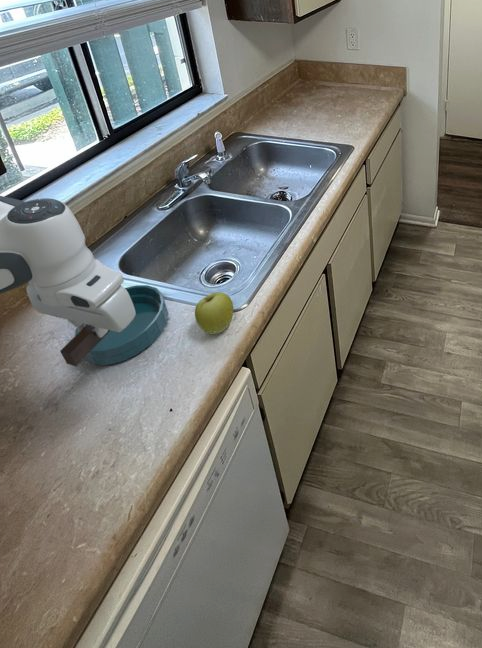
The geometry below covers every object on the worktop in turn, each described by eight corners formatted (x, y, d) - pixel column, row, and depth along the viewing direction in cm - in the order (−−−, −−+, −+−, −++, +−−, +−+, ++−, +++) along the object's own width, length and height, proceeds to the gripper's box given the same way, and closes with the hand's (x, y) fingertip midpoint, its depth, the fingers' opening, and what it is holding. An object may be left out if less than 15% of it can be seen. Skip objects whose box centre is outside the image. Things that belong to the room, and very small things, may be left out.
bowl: (71, 377, 91) (62, 361, 89) (96, 310, 106) (89, 296, 104) (162, 352, 96) (156, 337, 94) (173, 292, 110) (168, 277, 108)
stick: (76, 366, 79) (69, 353, 78) (66, 363, 80) (59, 351, 78) (124, 315, 89) (119, 303, 87) (116, 313, 89) (110, 301, 88)
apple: (239, 330, 99) (217, 303, 94) (206, 345, 98) (181, 319, 94) (242, 302, 106) (221, 276, 101) (211, 316, 105) (188, 290, 101)
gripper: (5, 282, 77) (35, 335, 83) (100, 304, 73) (124, 358, 79) (40, 256, 83) (66, 307, 89) (130, 275, 78) (150, 328, 84)
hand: (94, 331), depth 84 cm, fingers closed on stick, 2 cm apart
